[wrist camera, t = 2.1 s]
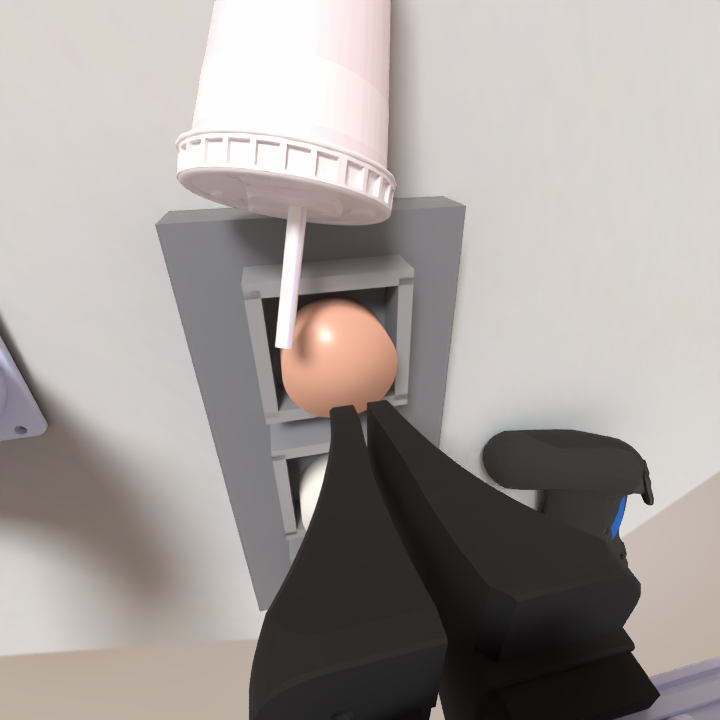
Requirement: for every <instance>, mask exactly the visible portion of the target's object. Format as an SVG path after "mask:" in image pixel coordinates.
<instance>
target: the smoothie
mask: <svg viewBox="0 0 720 720" xmlns="http://www.w3.org/2000/svg"><path fill="white" fill-rule="evenodd" d="M390 14H391V0H215V3H214V8H213V14H212V19H211V25H210V30H209V36H208V41H207V47H206V52H205V57H204V63H203V66H202V71H201V77H200V83H199V89H198V95H197V101H196V107H195V113H194V119H193V125H192V128H191V131H188V132H186V133H183V134H181V135H180V137H179V138H178V140H177V141H176V143H175V145H176V147H177V150H178V169H177V179H178V181H179V182H180V183H181V184H182V185H183V186H184V187H185V188H186V189H188V190H190V191H191V192H193V193H195V194H197V195H199V196H201V197H204V198H206V199H209V200H212V201H214V202H217V203H220V204H223V205H227V206H230V207H233V208H237V209H241V210H244V211H248V212H253V213H257V214H262V215H266V216H271V217H276V218H282V219H287V228H286V238H285V248H284V259H283V269H282V280H281V290H280V300H279V311H278V321H277V331H276V342H275V347H278V348H284V349H292V348H293V342H294V333H295V323H296V313H297V304H298V294H299V285H300V275H301V265H302V256H303V246H304V236H305V227H306V222H309V223H318V224H329V225H349V226H354V225H370V224H376V223H380V222H383V221H385V220H387V219H388V218H389V217H390V216H391V210H392V203H393V196H394V191H395V189H396V187H397V183H396V181H395V178H394V176H393V174H391V173H390V172H389V171H388V170H387V153H388V125H389V63H390Z"/></svg>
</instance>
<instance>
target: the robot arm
mask: <svg viewBox="0 0 720 720" xmlns="http://www.w3.org/2000/svg"><path fill="white" fill-rule="evenodd" d="M329 413H330V427H331V441H330V449H329V456H328V461H327V466H326V470H325V475H324V479H323V483H322V487H321V491H320V494H319V497H318V501H317V504H316V507H315V510H314V513H313V515H312V518H311V521H310V524H309V526H308V529H307V532H306V534H305V536H304V539H303V541H302V544H301V546H300V548H299V550H298V552H297V554H296V557H295V559H294V561H293V563H292V565H291V567H290V570H289V572H288V574H287V576H286V578H285V580H284V582H283V583H282V585H281V587H280V589H279V591H278V593H277V594H276V596H275V598H274V600H273V602H272V604H271V605H270V607H269V609H268V611H267V613H266V615H265V619H264V622H263V626H262V629H261V633H260V636H259V640H258V644H257V648H256V651H255V656H254V660H253V665H252V670H251V678H250V687H249V720H429V717H430V712H431V708H432V707H436V701H437V696H438V692H439V696H440V700H441V704H442V709H443V713H444V717H445V720H720V656H718V657H715V658H712V659H708V660H705V661H701V662H698V663H695V664H691V665H688V666H684V667H681V668H678V669H674V670H671V671H668V672H664V673H662V674H658V675H654V676H651V677H648V676H647V674H646V673H645V672H644V670H643V669H642V667H641V666H640V664H639V663H638V662H637V660H636V659H635V657H634V656H633V654H632V653H631V651H633V650H634V648H635V646H634V643H633V641H632V640H631V638H630V637H629V636H628V634H627V633H626V631H625V630H624V629H623V626H624V624H625V623H626V620H627V619H628V618H629V616H630V614H631V613H632V611H633V609H634V608H635V606H636V605H637V602H638V600H639V598H640V594H641V584H640V582H639V581H638V580H637V579H636V577H635V576H634V575H633V573H632V572H631V571H630V569H629V568H628V567H627V566H626V564H625V563H624V562H623V561H622V559H621V558H620V557H619V556H618V555H617V554H616V552H615V551H614V550H613V549H612V548H611V547H610V546H609V545H608V544H607V543H606V541H605V540H603V539H601V538H598V537H596V536H593V535H591V534H589V533H586V532H584V531H581V530H579V529H576V528H574V527H571V526H569V525H566V524H564V523H561V522H559V521H557V520H555V519H553V518H550V517H548V516H546V515H544V514H542V513H540V512H538V511H536V510H534V509H531V508H530V507H528V506H526V505H524V504H522V503H520V502H518V501H516V500H514V499H512V498H511V497H509V496H507V495H505V494H504V493H502V492H500V491H498V490H497V489H495V488H493V487H491V486H490V485H488V484H487V483H485V482H483V481H482V480H480V479H479V478H477V477H476V476H474V475H473V474H471V473H470V472H468V471H467V470H465V469H464V468H463V467H461V466H460V465H459V464H457V463H456V462H455V461H453V460H452V459H451V458H449V457H448V456H447V455H446V454H444V453H443V452H442V451H441V450H439V449H438V448H437V447H436V446H435V445H434V444H432V443H431V442H430V441H429V440H428V439H427V438H426V437H425V436H423V435H422V434H421V433H420V432H419V431H418V430H417V429H416V428H415V427H414V426H413V425H412V424H411V423H409V422H408V421H407V420H406V419H405V418H404V417H403V416H402V415H401V414H400V413H399V412H398V411H397V410H396V409H395V408H394V406H393V405H392V404H391V403H390V402H388V401H387V400H382V401H375V402H368V403H367V447H366V443H365V438H364V434H363V429H362V425H361V421H360V418H359V416H358V413H357V411H356V409H355V407H354V406H353V405H347V406H340V407H333V408H332V409H331V410H330V411H329ZM19 426H22V427H25V428H26V429H22V428H20V427H19ZM47 426H48V425H47V422H46V420H45V418H44V417H43V415H42V413H41V411H40V409H39V407H38V405H37V404H36V402H35V400H34V398H33V396H32V394H31V392H30V391H29V389H28V387H27V385H26V383H25V381H24V379H23V377H22V376H21V374H20V372H19V370H18V368H17V366H16V364H15V363H14V361H13V359H12V357H11V355H10V353H9V351H8V350H7V348H6V346H5V344H4V342H3V340H2V338H1V337H0V441H5V440H12V439H19V438H27V437H34V436H39V435H42V434H43V433H44V432H45V430H46V429H47Z"/></svg>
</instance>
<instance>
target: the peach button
mask: <svg viewBox="0 0 720 720" xmlns="http://www.w3.org/2000/svg"><path fill="white" fill-rule="evenodd" d="M280 356H281V368H282V379H283V384H284V387H285V390H286V392H287V394H288V395H289V397H290V398H291V399H292V401H293V402H294V403H295V404H296V405H297V406H299V407H300V408H301V409H303V410H305V411H307V412H308V413H311V414H313V415H316V416H321V417H327V418H330V413H329V411H330V410H331V409H332V408H333V407H340V406H347V405H353V406H354V407H355V409H356V411H357V413H360V412H363V411H365V410H367V403H368V402H375V401H379V400H381V399H382V398H383V396H384V395H385V394H386V393H387V392H388V390H389V389H390V387H391V385H392V384H393V382H394V379H395V376H396V372H397V366H398V359H397V353H396V350H395V347H394V345H393V343H392V341H391V339H390V337H389V336H388V334H387V332H386V331H385V329H384V327H383V326H382V324H381V322H380V321H379V319H378V317H377V316H376V315H375V313H374V312H373V311H372V310H371V309H370V308H368V307H367V306H366V305H364V304H362V303H360V302H359V301H356V300H353V299H350V298H345V297H327V298H322V299H319V300H315V301H313V302H311V303H309V304H307V305H305V306H303V307H302V308H301V309H299V310H298V311H297V313H296V323H295V333H294V342H293V348H292V349H284V348H280Z"/></svg>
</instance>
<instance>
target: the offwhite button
mask: <svg viewBox="0 0 720 720" xmlns="http://www.w3.org/2000/svg"><path fill="white" fill-rule="evenodd" d="M328 456H329V452H328V453H325V454H323V455H321V456H319V457H318V458H316V459H315V460H313V461H312V462H311V463H310V464H309V465H308V466H307V467H306V468H305V469H304V471H303V472H302V474H301V476H300V479H299V495H300V504H301V514H302V522H303V526H304V528H305V529H306V531H307V529H308V526H309V524H310V521H311V518H312V515H313V513H314V510H315V507H316V504H317V501H318V497H319V494H320V491H321V487H322V483H323V479H324V475H325V470H326V466H327V461H328Z"/></svg>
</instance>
